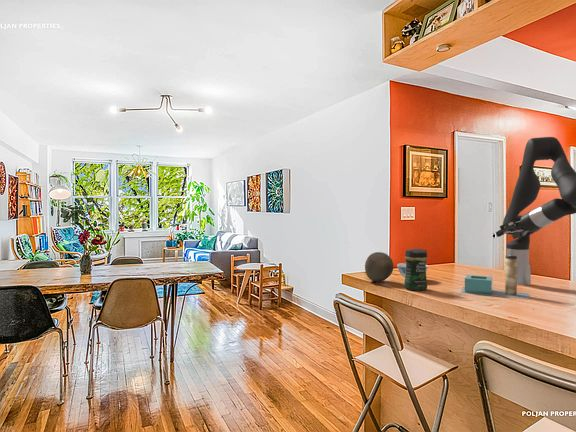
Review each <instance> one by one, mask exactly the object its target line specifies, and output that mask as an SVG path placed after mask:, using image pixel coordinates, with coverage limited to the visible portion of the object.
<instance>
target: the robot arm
mask: <svg viewBox="0 0 576 432" xmlns="http://www.w3.org/2000/svg"><path fill="white" fill-rule="evenodd" d="M548 160H551V161H553V162H554V163H553V165H552V167H551V171H550V176H551V178H552V181H553V182H554V183H555V185H556V186H557V187H558V191H559V194H560V195H559V196H560V198H558V197H557V198H553V199H551V200H549V201H547V202H546V203H544V204H542V205H540V206H537V207H535V208H533V209H532V210H530V211H528V212H526V213H525V214H522V215H520V214H521V212H523V211H524V210H525V209H527V208H528V207H529V206H530V205H532V204H533V203H534V202H535V201H536V200H537V197H538V195H539V193H540V190H541V180H540V179H539V177H538V175H537V174H536V172H535V169H534V167H535V163H536V161H548ZM574 214H575V215H576V170H575V169H574V168H573V167H572V165H571V163H570V162H569V160H568V157H567V155H566V152H565V151H564V148H563V145H562V144H561V142H560V141H559V140H558V138H556V137H554V136H541V137H532V138H530V139H528V140H527V142H526V144H525V147H524V151H523V156H522V163H521V167H520V171H519V173H518V177H517V181H516V182H515V186H514V189H513V193H512V197H511V201H510V204H509V206H508V208H507V210H506V213H505V215H504V217H503V221H502V225H500V226H499V228H500V229H499V230H497V231H495V235H496V237H498V238H499V237H501V236H503V235H509V236H510V235H511V236H512V238H513V239H514V240H511V241H508V242H507V243H506V256H507V255H510V256H517V285H520V286H524V287H528V286H531V274H532V273H531V271H532V270H531V269H532V268H531V264H530V241H531V239H530V238H531V236H532V235H533V234H534V233H536V232H538V231H540V230H541V229H543V228H546V227H547V226H549V225H551V224H553V223H554V222H556V221H557V220H560V219H562V218H564V217H565V216H570V215H574Z"/></svg>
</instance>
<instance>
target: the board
mask: <svg viewBox="0 0 576 432" xmlns="http://www.w3.org/2000/svg"><path fill="white" fill-rule="evenodd" d="M460 294H466V295H467V294H469V295H480V296H489V297H501V298H511V299H519V300H520V299H521V300H530V301H531V296H530V293H529V292H525V291H523V292H522V291H517V295H515V296H513V295H506V294H505V290H502V289H501V290H499V289H492V294H491V295H486V294H476V293H466V292H465V286H464V287H463V288H462V289H461V291H460Z"/></svg>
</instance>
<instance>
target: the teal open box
mask: <svg viewBox="0 0 576 432" xmlns="http://www.w3.org/2000/svg"><path fill="white" fill-rule="evenodd" d="M464 287H465V292H466V293H465V294H467V293H476V294H475V295H477V294H486V295H485V296H488V295H491V294H492V290H493V276H489V275H477V274H476V275H475V274H474V275H473V274H466V275H465V277H464Z"/></svg>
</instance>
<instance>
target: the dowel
mask: <svg viewBox="0 0 576 432" xmlns="http://www.w3.org/2000/svg"><path fill="white" fill-rule="evenodd" d="M517 285H518V284H517V256H510V255H507V254H506V255H505V287H504V288H505V290H504V291H505V294H506V295H513V296H515V295H517V292H518V291H517V288H518V287H517Z"/></svg>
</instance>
